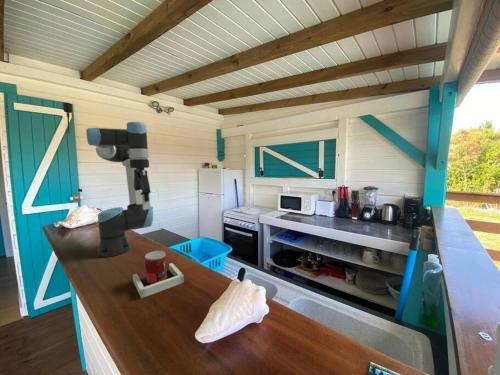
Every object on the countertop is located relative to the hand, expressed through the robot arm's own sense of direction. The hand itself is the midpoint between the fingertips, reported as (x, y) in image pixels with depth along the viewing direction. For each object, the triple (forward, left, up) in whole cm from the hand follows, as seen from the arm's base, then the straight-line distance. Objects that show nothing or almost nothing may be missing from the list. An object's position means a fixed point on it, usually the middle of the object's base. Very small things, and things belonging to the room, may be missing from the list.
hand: (143, 206), depth 98 cm
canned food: (+15, 0, -29) cm, 32 cm away
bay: (+17, 0, -29) cm, 33 cm away
